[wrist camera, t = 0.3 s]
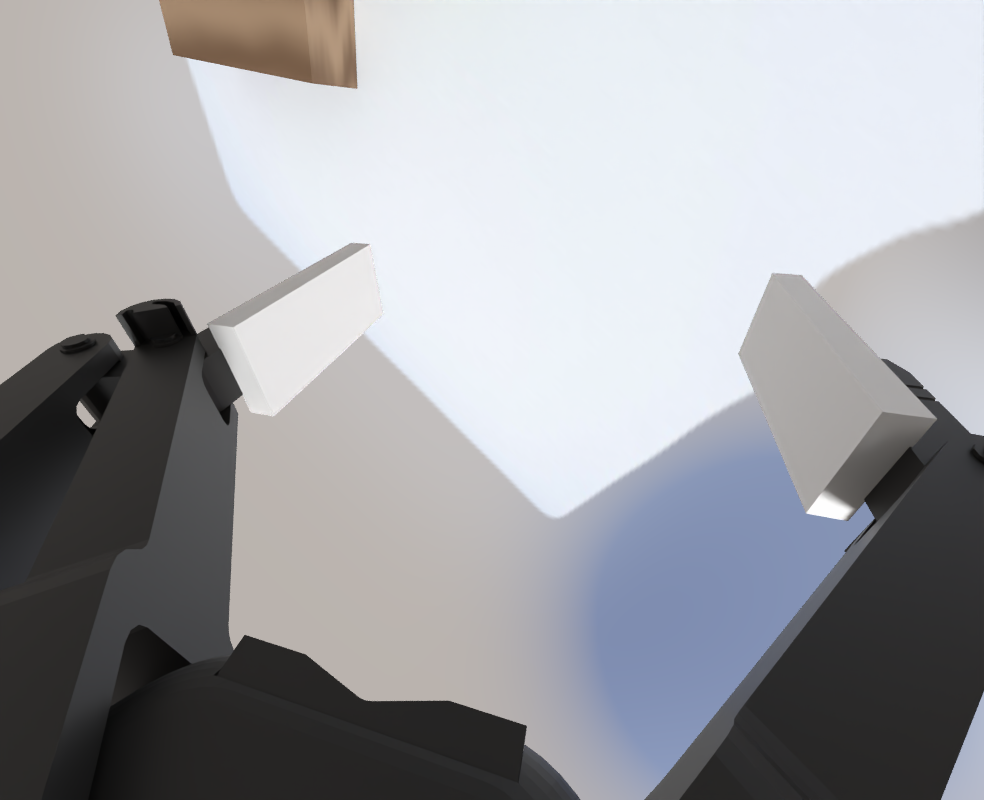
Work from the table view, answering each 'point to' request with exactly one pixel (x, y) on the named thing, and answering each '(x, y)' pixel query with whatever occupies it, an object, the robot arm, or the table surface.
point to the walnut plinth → (268, 36)
